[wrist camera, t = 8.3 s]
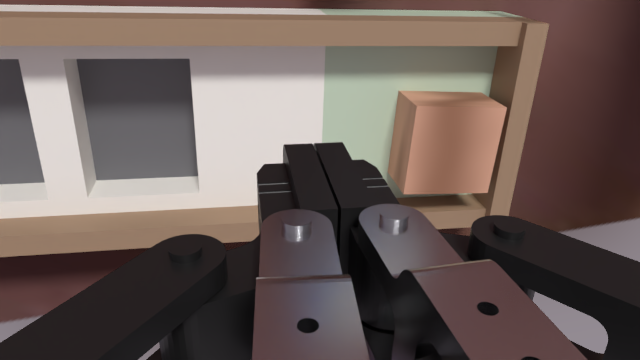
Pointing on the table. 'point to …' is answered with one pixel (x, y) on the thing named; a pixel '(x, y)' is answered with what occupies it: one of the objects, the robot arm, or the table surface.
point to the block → (445, 142)
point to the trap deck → (227, 111)
